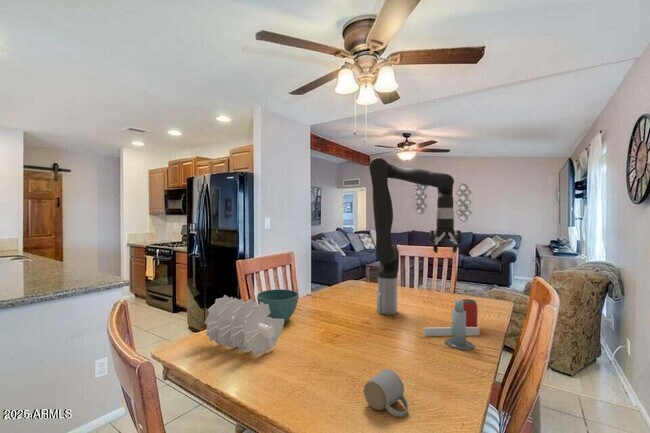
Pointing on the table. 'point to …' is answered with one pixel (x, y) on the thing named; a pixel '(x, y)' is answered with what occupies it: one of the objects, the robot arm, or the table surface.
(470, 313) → the beer can
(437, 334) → the wall
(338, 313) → the table surface
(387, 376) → the ceramic mug
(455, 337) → the grey bottle
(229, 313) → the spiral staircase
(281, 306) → the dark green bowl
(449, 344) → the coaster
